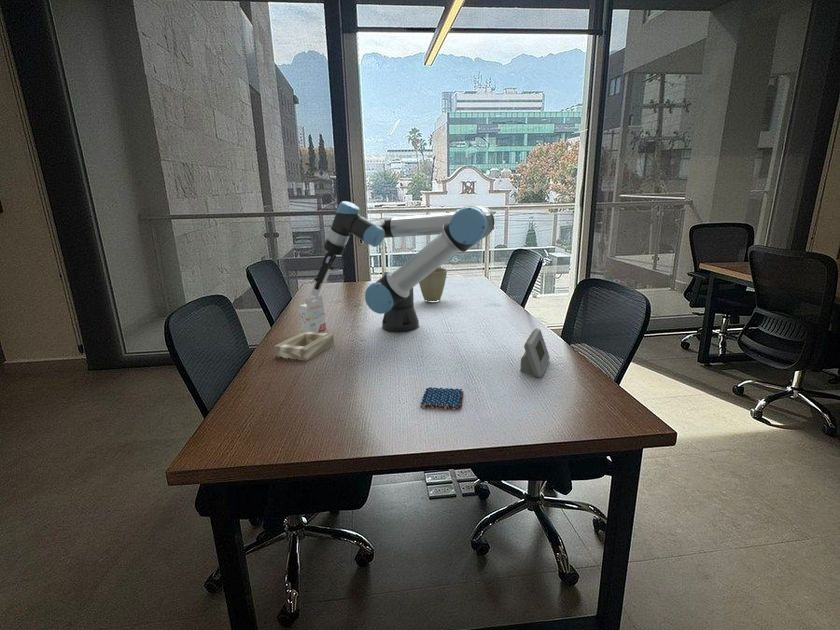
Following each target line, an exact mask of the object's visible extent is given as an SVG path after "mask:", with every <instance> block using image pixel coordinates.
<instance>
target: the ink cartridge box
mask: <svg viewBox="0 0 840 630" xmlns="http://www.w3.org/2000/svg"><path fill="white" fill-rule="evenodd" d="M314 300H315V301H314ZM323 301H324V299H323V296H322V295H321V294H319V295H318V297H316V296H312V297H309V298H306V299H305V302H306V303H304V304H300V305H298V306H299V313H300V314H299V315H300V320H301V321H300V322H301V328H302V332H303V331H308V332H318V333H321V332H323V331H325V330H327V325H326V316H325V315H326V314H325V309H324V308H325V305H324V302H323Z"/></svg>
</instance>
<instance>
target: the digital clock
mask: <svg viewBox="0 0 840 630" xmlns="http://www.w3.org/2000/svg"><path fill="white" fill-rule="evenodd" d="M524 351H525V352H523V355H522V357H521V358H520V372H522V373H528V374H533V376H534V377H535V378H540V377H542V376H543V375H544V373H545V370H546V368H547V366H548V363H549V362H550V361H549V360H550V354H549V351H548V348H547V345H546V343H545V339H544V336H543V334H542V330H541V329H540V328H535V329H533V330H532V332H531V333H530V334H529V337H528V338H527V340H526V341H525V343H524Z"/></svg>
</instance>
